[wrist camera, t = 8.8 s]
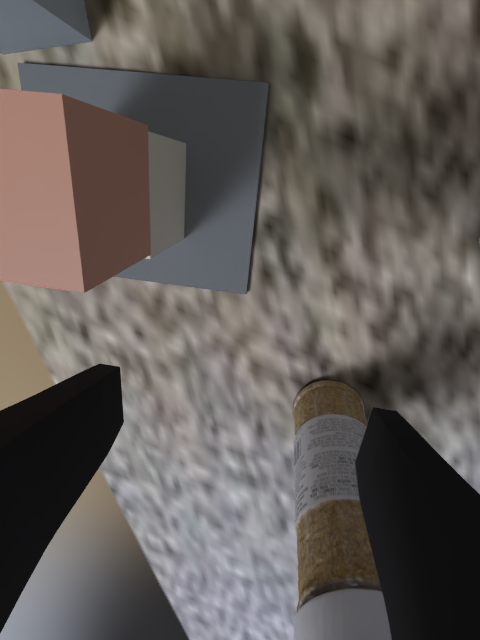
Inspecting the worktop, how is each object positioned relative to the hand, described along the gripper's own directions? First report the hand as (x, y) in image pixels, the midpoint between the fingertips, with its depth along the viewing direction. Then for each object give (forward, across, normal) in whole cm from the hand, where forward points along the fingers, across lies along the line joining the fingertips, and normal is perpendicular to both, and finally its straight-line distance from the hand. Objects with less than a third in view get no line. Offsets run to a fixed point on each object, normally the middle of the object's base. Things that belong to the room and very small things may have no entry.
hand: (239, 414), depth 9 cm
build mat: (+10, +7, -5) cm, 13 cm away
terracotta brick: (+5, +7, -5) cm, 10 cm away
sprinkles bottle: (+11, -5, +7) cm, 14 cm away
